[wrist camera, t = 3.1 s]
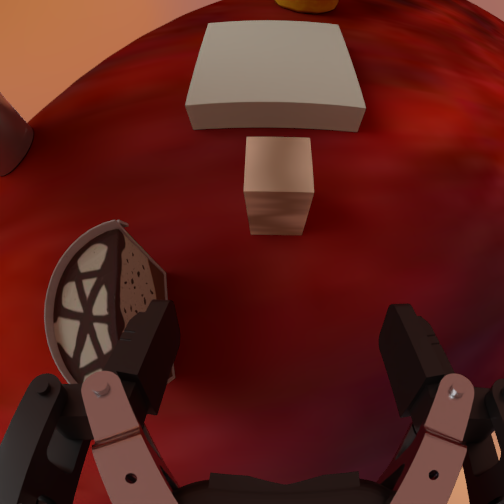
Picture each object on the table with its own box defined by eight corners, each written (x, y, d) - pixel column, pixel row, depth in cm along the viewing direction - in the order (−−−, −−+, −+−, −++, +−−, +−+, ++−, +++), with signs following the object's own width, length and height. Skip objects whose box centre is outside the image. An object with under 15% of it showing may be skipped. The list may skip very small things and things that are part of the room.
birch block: (250, 234, 26) (243, 191, 19) (252, 189, 28) (246, 136, 20) (301, 235, 26) (314, 192, 18) (300, 190, 27) (309, 138, 20)
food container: (107, 264, 26) (43, 228, 17) (165, 256, 26) (114, 211, 17) (115, 393, 23) (47, 410, 13) (177, 394, 23) (125, 421, 13)
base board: (193, 129, 30) (185, 105, 26) (212, 44, 35) (208, 23, 32) (357, 132, 29) (366, 108, 25) (334, 45, 34) (337, 24, 31)
